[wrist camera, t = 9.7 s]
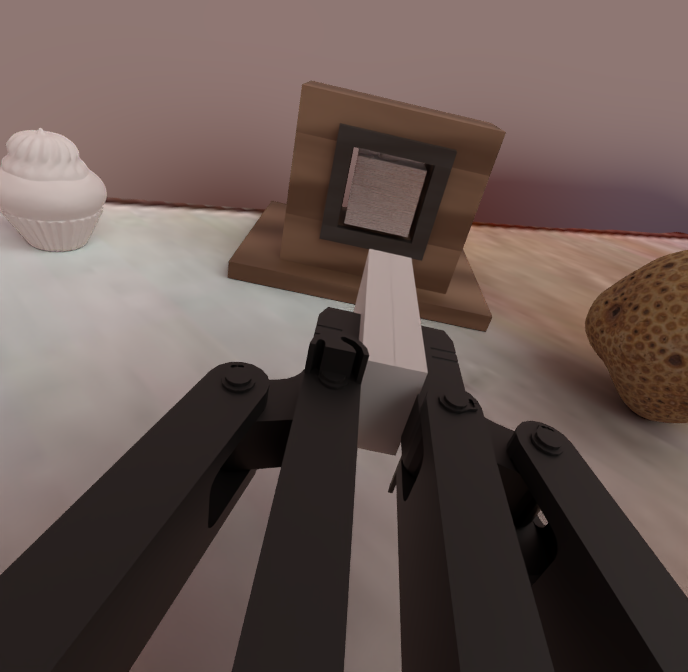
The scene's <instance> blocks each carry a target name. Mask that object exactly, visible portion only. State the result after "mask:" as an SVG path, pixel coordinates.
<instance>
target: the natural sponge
mask: <svg viewBox="0 0 688 672" xmlns="http://www.w3.org/2000/svg"><path fill="white" fill-rule="evenodd" d="M585 329H586V334H587V337H588V340H589V342H590V344H591V346H592V347H593V349H594V350H595V352H596V353H597V355H598V356H599V357H600V358H601V359H602V360H603V362H604V363H605V365H606V367H607V368H608V371H609V373H610V375H611V378H612V380H613V383H614V385H615V387H616V389H617V391H618V393H619V395H620V397H621V399H622V400H623V401H624V402H625V404H626V405H627V406H628V407H629V408H630V409H631V410H632V411H633V412H635V413H636V414H638V415H639V416H641V417H643V418H646V419H648V420H652V421H659V422H666V423H688V250H685V251H680V252H676V253H672V254H669V255H666V256H663V257H660V258H658V259H656V260H654V261H652V262H650V263H648V264H646V265H645V266H643V267H641V268H640V269H638V270H636V271H634V272H633V273H631V274H629V275H628V276H626V277H625V278H623V279H621V280H620V281H618V282H617V283H615V284H614V285H612V286H611V287H610V288H608V289H607V290H605V291H604V292H603V293H601V294H600V295H599V296H598V297H597V299H596V300H595V301H594V303H593V304H592V306H591V308H590V310H589V312H588V315H587V317H586V321H585Z"/></svg>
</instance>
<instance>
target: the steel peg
mask: <svg viewBox="0 0 688 672" xmlns="http://www.w3.org/2000/svg"><path fill="white" fill-rule="evenodd" d="M426 172H427V170H426V168H425V165H424V163H422V162H418V161H413V160H409V159H405V158H400V157H396V156H392V155H387V154H383V153H378V152H374V151H370V150H365V149H361V148H359V151H358V155H357V160H356V165H355V171H354V176H353V181H352V186H351V192H350V196H349V202H348V206H347V211H346V217H345V222H344V223H345V224H349V225H354V226H358V227H363V228H368V229H372V230H377V231H381V232H386V233H390V234H395V235H400V236H404V237H408V234H409V230H410V227H411V224H412V220H413V217H414V213H415V210H416V207H417V203H418V200H419V196H420V193H421V190H422V186H423V183H424V179H425V176H426Z"/></svg>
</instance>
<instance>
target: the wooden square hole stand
mask: <svg viewBox="0 0 688 672" xmlns="http://www.w3.org/2000/svg"><path fill="white" fill-rule="evenodd" d="M505 133H506V132H504V131H503V130H501V129H500V128H498V127H496V126H495V125H493V124H491V123H488V122H484V121H480V120H475V119H472V118H467V117H463V116H459V115H455V114H450V113H446V112H442V111H438V110H433V109H429V108H425V107H421V106H416V105H412V104H408V103H404V102H400V101H395V100H391V99H387V98H382V97H378V96H374V95H370V94H366V93H362V92H357V91H353V90H349V89H345V88H340V87H336V86H332V85H327V84H323V83H319V82H315V81H309V82H307V83H304V84H302V90H301V98H300V106H299V114H298V121H297V129H296V137H295V145H294V152H293V159H292V167H291V175H290V182H289V190H288V199H287V204H283V203H279V202H274V201H271V203H270V204H269V206H268V207H267V208H266V210H265V211H264V213H263V214H262V215H261V217H260V218H259V220H258V221H257V222H256V224H255V225H254V227H253V228H252V229H251V231H250V232H249V234H248V235H247V236H246V238H245V239H244V241H243V242H242V243H241V245H240V246H239V248H238V249H237V250H236V252H235V253H234V255H233V256H232V257H231V259H230V260H229V265H228V278H232V279H237V280H242V281H247V282H251V283H256V284H261V285H266V286H270V287H275V288H280V289H285V290H290V291H294V292H299V293H304V294H309V295H313V296H318V297H323V298H328V299H333V300H337V301H342V302H347V303H352V304H356V300H357V296H358V292H359V288H360V284H361V280H362V276H363V272H364V268H365V264H366V260H367V256H368V252H369V249H373V250H377V251H382V252H386V253H391V254H395V255H400V256H404V257H409V258H411V259H412V266H413V273H414V280H415V287H416V294H417V301H418V308H419V315H420V318H423V319H428V320H433V321H438V322H442V323H447V324H452V325H457V326H462V327H466V328H471V329H476V330H481V331H485V332H486V330H487V328H488V325H489V323H490V321H491V319H492V315H491V313H490V310H489V308H488V306H487V304H486V301H485V299H484V297H483V294H482V292H481V290H480V287H479V285H478V283H477V281H476V278H475V276H474V274H473V271H472V269H471V267H470V264H469V262H468V260H467V257H466V255H465V253H464V251H463V247H464V244H465V241H466V238H467V236H468V233H469V230H470V228H471V225H472V222H473V220H474V217H475V214H476V212H477V209H478V206H479V203H480V200H481V198H482V195H483V193H484V190H485V187H486V185H487V182H488V179H489V176H490V174H491V171H492V168H493V165H494V163H495V160H496V158H497V155H498V152H499V150H500V147H501V144H502V142H503V139H504V136H505ZM354 147H357V148H361V149H365V150H370V151H374V152H378V153H383V154H387V155H392V156H396V157H400V158H405V159H409V160H413V161H418V162H422V163H424V165H425V168H426V170H427V172H426V176H425V179H424V183H423V186H422V190H421V193H420V196H419V200H418V203H417V207H416V210H415V213H414V217H413V220H412V224H411V227H410V230H409V234H408V237H404V236H400V235H395V234H390V233H386V232H381V231H377V230H372V229H368V228H363V227H358V226H354V225H349V224H345V223H344V222H345V217H346V211H347V208H345V207H342V203H343V198H344V193H345V188H346V183H347V178H348V173H349V168H350V163H351V158H352V153H353V148H354Z"/></svg>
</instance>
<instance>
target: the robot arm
mask: <svg viewBox="0 0 688 672" xmlns="http://www.w3.org/2000/svg"><path fill="white" fill-rule="evenodd" d="M455 353H456V352H455V348H454V344H453V341H452V340H451V339H450V337H449V336H448V335H447V334H446V333H445V331H443V330H438V329H434V328H429V327H424V326H421V322H420V315H419V308H418V301H417V294H416V287H415V280H414V273H413V266H412V259H411V258H409V257H404V256H400V255H395V254H391V253H386V252H382V251H377V250H373V249H369V252H368V256H367V260H366V264H365V268H364V272H363V276H362V280H361V284H360V288H359V292H358V296H357V300H356V304H355V308H354V312H349V311H344V310H340V309H335V308H330V307H328V308H326V309H325V310H324V311H323V312H321V313H320V314H319V317H318V321H317V326H316V330H315V334H314V338H313V339H312V341H311V342H310V345H309V350H308V355H307V360H306V365H305V369H304V370H303V371H302V372H301V373H300V374H298V375H296V376H294V377H291V378H288V379H280V380H269V379H268V376H267V375H266V374H265V373H264V371H263V370H262V369H260V368H258V367H256V366H254V365H252V364H248V363H243V362H229V363H225V364H221V365H218V366H217V367H215V368H214V369H212V370H211V371H209V372H208V373H207V374H206V375H205V376H204V377H203V378H202V379H201V380H200V381H199V382H198V383H197V384H196V385H195V386H194V387H193V388H192V389H191V390H190V391H189V392H188V393H187V394H186V395H185V396H184V397H183V398H182V399H181V400H180V401H179V402H178V403H177V404H176V405H175V406H174V407H173V408H171V409H170V410H169V411H168V412H167V413H166V414H165V415H164V416H163V417H162V418H161V419H160V420H159V421H158V422H157V423H156V424H155V425H154V426H153V427H152V428H151V429H150V430H149V431H148V432H147V433H146V434H145V435H144V436H143V437H142V438H141V439H140V440H139V441H138V442H137V443H136V444H135V445H134V446H132V447H131V448H130V449H129V450H128V451H127V452H126V453H125V454H124V455H123V456H122V457H121V458H120V459H119V460H118V461H117V462H116V463H115V464H114V465H113V466H112V467H111V468H110V469H109V470H108V471H107V472H106V473H105V474H104V475H103V476H102V477H101V478H100V479H99V480H98V481H97V482H96V483H95V484H93V485H92V486H91V487H90V488H89V489H88V490H87V491H86V492H85V493H84V494H83V495H82V496H81V497H80V498H79V499H78V500H77V501H76V502H75V503H74V504H73V505H72V506H71V507H70V508H69V509H68V510H67V511H66V512H65V513H64V514H63V515H62V516H61V517H60V518H59V519H58V520H57V521H56V522H54V523H53V524H52V525H51V526H50V527H49V528H48V529H47V530H46V531H45V532H44V533H43V534H42V535H41V536H40V537H39V538H38V539H37V540H36V541H35V542H34V543H33V544H32V545H31V546H30V547H29V548H28V549H27V550H26V551H25V552H24V553H23V554H22V555H21V556H20V557H19V558H18V559H17V560H16V561H14V562H13V563H12V564H11V565H10V566H9V567H8V568H7V569H6V570H5V571H4V572H3V573H2V574H1V575H0V672H129V670H130V669H131V667H132V665H133V664H134V662H135V661H136V659H137V658H138V656H139V654H140V653H141V651H142V650H143V648H144V647H145V645H146V644H147V642H148V640H149V639H150V637H151V636H152V634H153V633H154V631H155V629H156V628H157V626H158V625H159V623H160V622H161V620H162V619H163V617H164V615H165V614H166V612H167V611H168V609H169V608H170V606H171V604H172V603H173V601H174V600H175V598H176V597H177V595H178V593H179V592H180V590H181V589H182V587H183V586H184V584H185V583H186V581H187V579H188V578H189V576H190V575H191V573H192V572H193V570H194V568H195V567H196V565H197V564H198V562H199V561H200V559H201V558H202V556H203V554H204V553H205V551H206V550H207V548H208V547H209V545H210V543H211V542H212V540H213V539H214V537H215V536H216V534H217V533H218V531H219V529H220V528H221V526H222V525H223V523H224V522H225V520H226V518H227V517H228V515H229V514H230V512H231V511H232V509H233V507H234V506H235V504H236V503H237V501H238V500H239V498H240V497H241V495H242V493H243V492H244V490H245V489H246V487H247V486H248V484H249V482H250V481H251V479H252V478H253V476H254V475H255V472H256V470H257V469H263V468H274V467H281V470H280V474H279V478H278V483H277V487H276V491H275V495H274V499H273V503H272V507H271V512H270V516H269V520H268V524H267V528H266V532H265V536H264V541H263V545H262V549H261V553H260V557H259V561H258V565H257V569H256V574H255V578H254V582H253V586H252V590H251V594H250V598H249V603H248V607H247V611H246V615H245V619H244V623H243V627H242V631H241V636H240V640H239V644H238V648H237V652H236V656H235V660H234V665H233V669H232V672H344V657H345V640H346V624H347V607H348V591H349V574H350V558H351V541H352V525H353V508H354V492H355V475H356V459H357V448H360V449H365V450H370V451H375V452H380V453H385V454H390V455H396V453H397V450H398V448H399V445H400V443H401V448H402V456H401V458H400V461H399V463H398V466H397V468H396V471H395V473H394V476H393V478H392V481H391V483H390V486H389V490H388V492H390V493H393V490H394V488H395V486H397V520H398V554H399V589H400V623H401V657H402V672H688V598H687V596H686V595H685V594H684V592H683V591H682V590H681V588H680V587H679V586H678V584H677V583H676V582H675V580H674V579H673V578H672V576H671V575H670V574H669V572H668V571H667V570H666V568H665V567H664V566H663V564H662V563H661V562H660V560H659V559H658V558H657V556H656V555H655V554H654V552H653V551H652V550H651V548H650V547H649V546H648V544H647V543H646V542H645V540H644V539H643V538H642V536H641V535H640V534H639V532H638V531H637V530H636V528H635V527H634V526H633V524H632V523H631V522H630V520H629V519H628V518H627V516H626V515H625V514H624V512H623V511H622V510H621V508H620V507H619V506H618V504H617V503H616V502H615V500H614V499H613V498H612V496H611V495H610V494H609V492H608V491H607V490H606V488H605V487H604V486H603V484H602V483H601V482H600V480H599V479H598V478H597V476H596V475H595V474H594V472H593V471H592V470H591V468H590V467H589V466H588V464H587V463H586V462H585V460H584V459H583V458H582V456H581V455H580V454H579V452H578V451H577V450H576V448H575V447H574V446H573V444H572V443H571V442H570V441H569V440H568V439H567V438H566V437H565V436H564V435H563V434H562V433H560V432H559V431H557V430H556V429H554V428H553V427H551V426H548V425H546V424H543V423H540V422H535V421H526V422H522V423H521V424H520V425H519V426H517V428H516V430H515V431H512V430H510V429H508V428H505V427H503V426H501V425H499V424H496V423H494V422H492V421H490V420H488V419H486V418H485V417H484V415H483V411H482V408H481V406H480V405H479V403H478V401H477V400H476V399H475V398H474V397H473V396H472V395H471V394H469V393H467V392H466V391H465V388H464V384H463V380H462V376H461V372H460V368H459V364H458V360H457V356H456V354H455ZM540 510H541V511H542V512H543V514H544V516H545V518H546V519H547V521H548V524H547V525H546V526H545V525H544V524H543V523H542V522H541V520H540V519H539V517H538V515H537V514H538V513H539V512H540Z"/></svg>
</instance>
